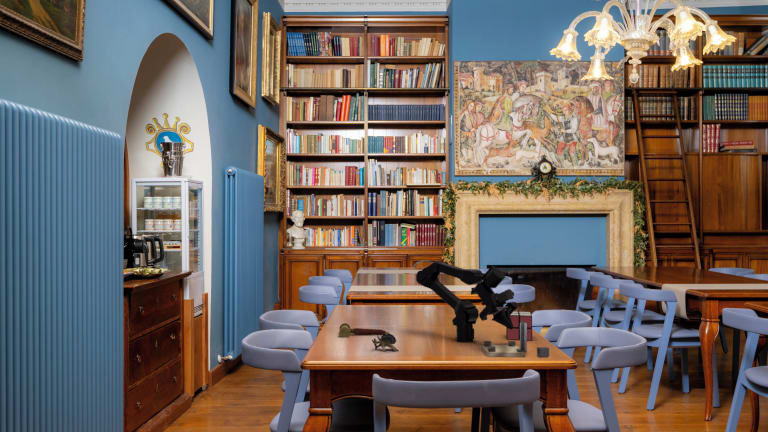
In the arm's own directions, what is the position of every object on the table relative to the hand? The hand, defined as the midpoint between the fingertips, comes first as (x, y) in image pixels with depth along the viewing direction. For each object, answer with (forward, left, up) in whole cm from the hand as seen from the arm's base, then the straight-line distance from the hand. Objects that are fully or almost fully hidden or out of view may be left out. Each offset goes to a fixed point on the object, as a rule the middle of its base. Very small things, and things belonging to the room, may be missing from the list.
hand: (512, 328), depth 204 cm
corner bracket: (+8, -10, -8) cm, 15 cm away
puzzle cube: (+7, +22, -8) cm, 24 cm away
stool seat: (-5, -5, -8) cm, 10 cm away
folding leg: (+3, -5, -7) cm, 9 cm away
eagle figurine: (-47, -3, -8) cm, 48 cm away
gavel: (-56, +26, -8) cm, 63 cm away
